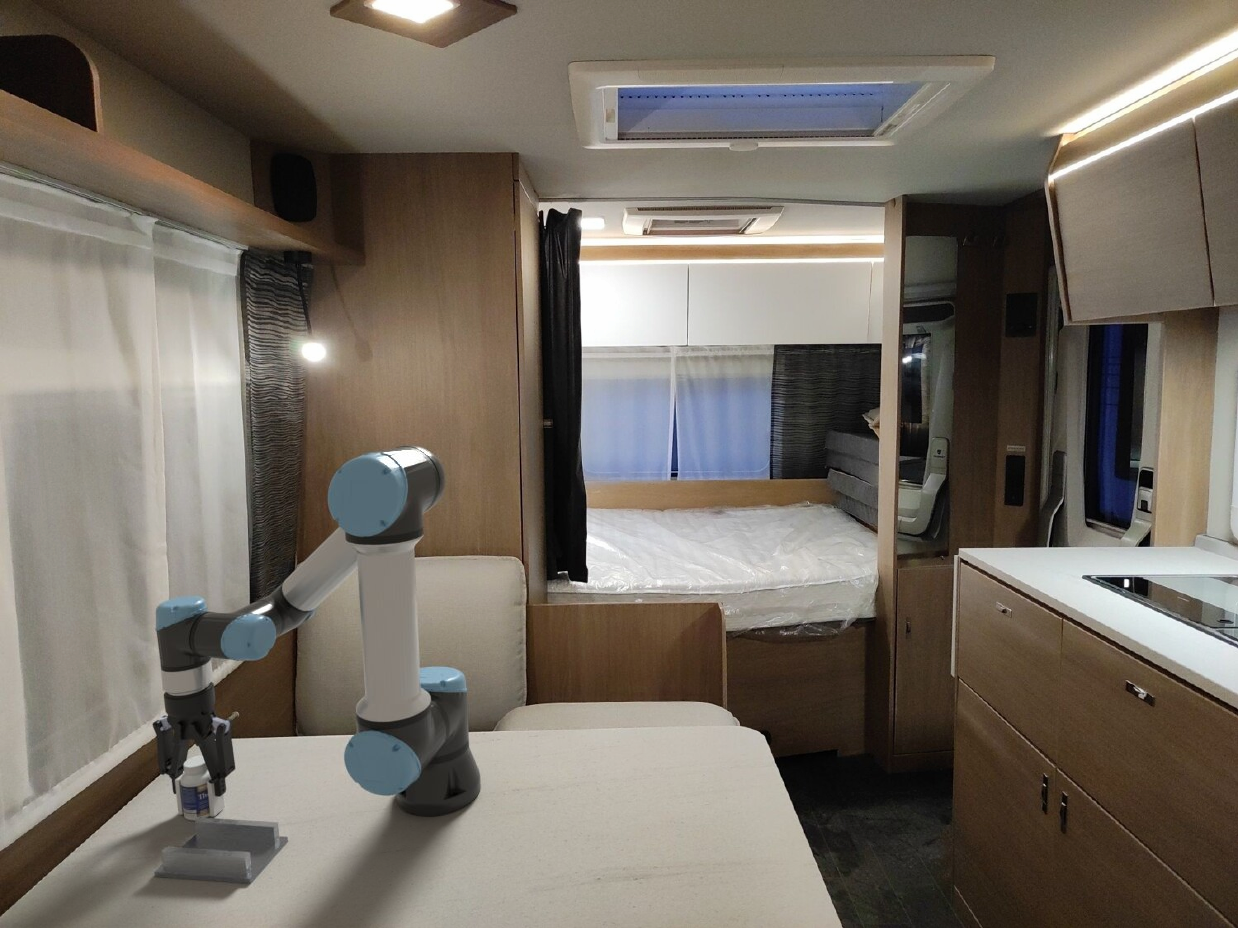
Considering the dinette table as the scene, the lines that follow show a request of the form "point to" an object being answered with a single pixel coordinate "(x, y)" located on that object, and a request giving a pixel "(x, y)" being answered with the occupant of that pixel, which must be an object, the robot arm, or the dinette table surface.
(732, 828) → the dinette table surface
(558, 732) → the dinette table surface
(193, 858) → the rail channel
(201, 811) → the pill bottle
